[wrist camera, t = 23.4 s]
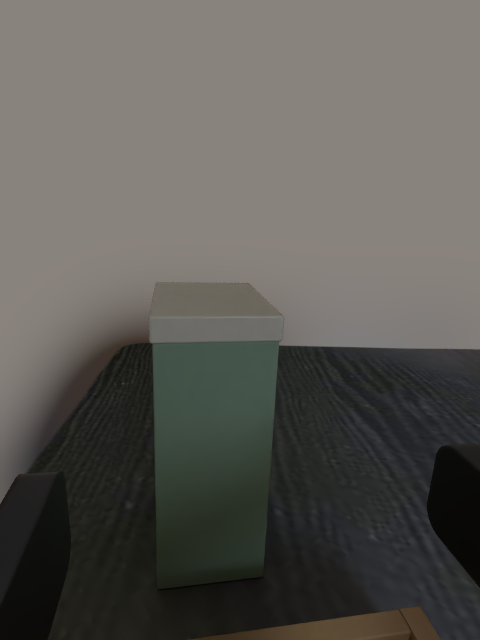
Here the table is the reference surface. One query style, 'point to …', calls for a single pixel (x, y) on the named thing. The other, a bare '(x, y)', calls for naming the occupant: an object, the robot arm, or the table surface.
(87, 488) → the table surface
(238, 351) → the green lidded canister
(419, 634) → the desk tray
